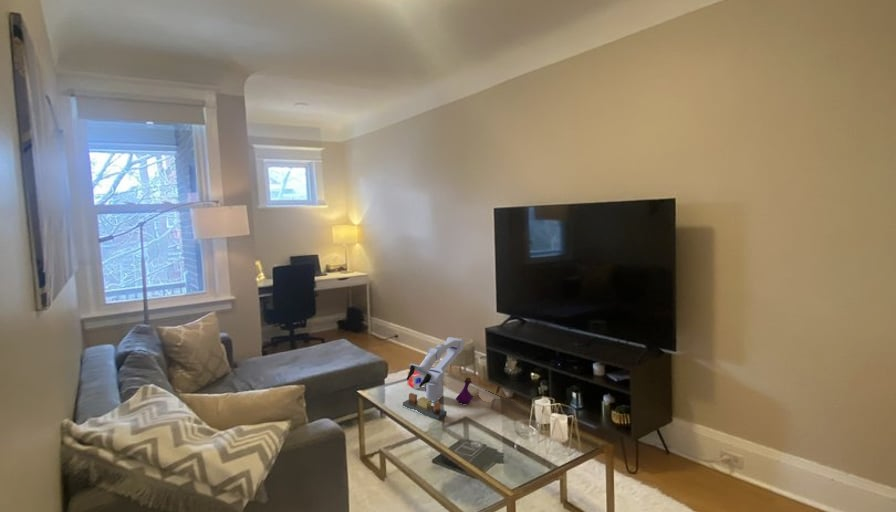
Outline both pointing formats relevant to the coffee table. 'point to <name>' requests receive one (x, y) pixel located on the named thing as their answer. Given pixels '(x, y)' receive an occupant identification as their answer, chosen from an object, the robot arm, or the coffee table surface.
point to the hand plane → (431, 412)
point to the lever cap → (424, 403)
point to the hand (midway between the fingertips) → (413, 382)
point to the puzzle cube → (415, 380)
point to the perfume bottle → (465, 392)
